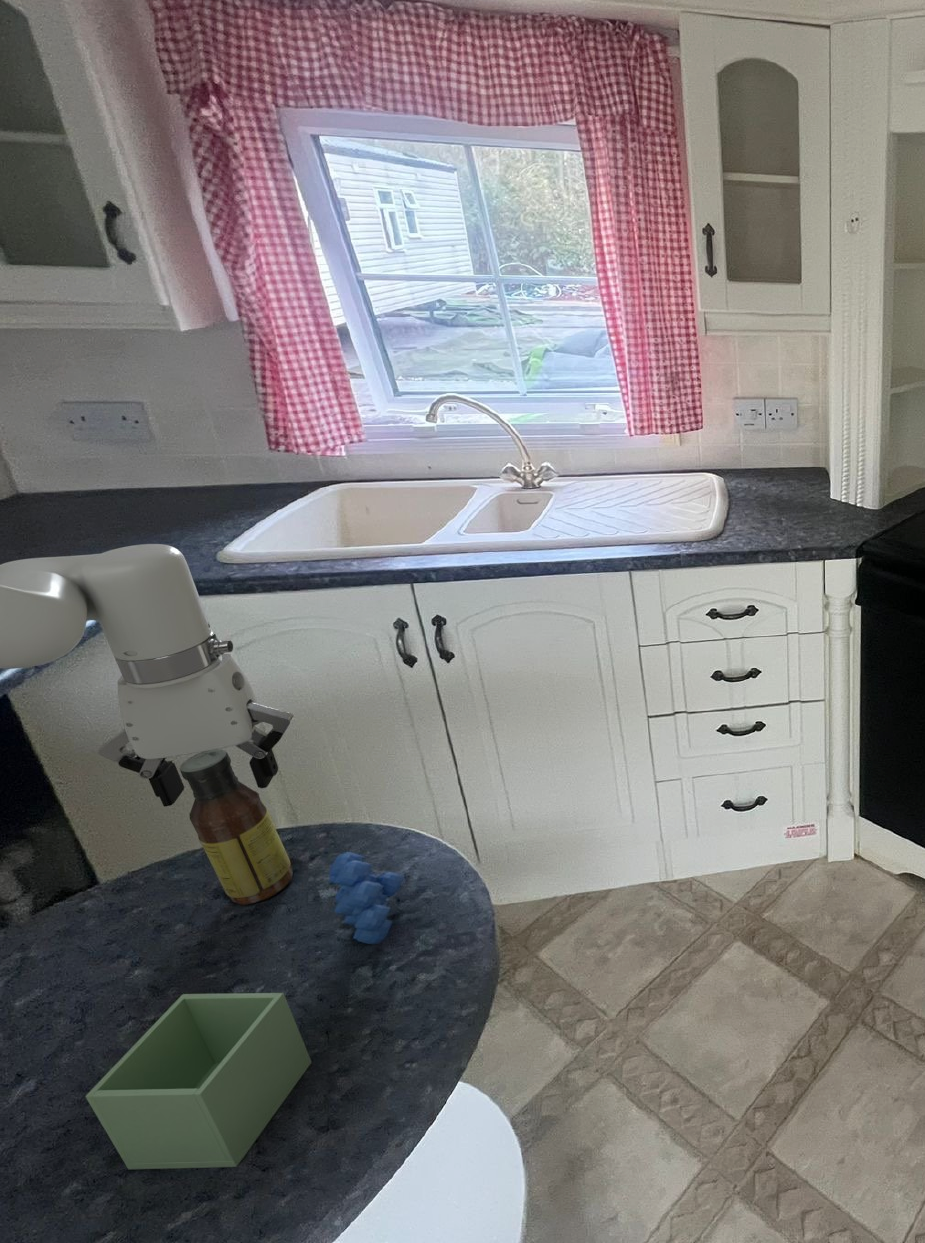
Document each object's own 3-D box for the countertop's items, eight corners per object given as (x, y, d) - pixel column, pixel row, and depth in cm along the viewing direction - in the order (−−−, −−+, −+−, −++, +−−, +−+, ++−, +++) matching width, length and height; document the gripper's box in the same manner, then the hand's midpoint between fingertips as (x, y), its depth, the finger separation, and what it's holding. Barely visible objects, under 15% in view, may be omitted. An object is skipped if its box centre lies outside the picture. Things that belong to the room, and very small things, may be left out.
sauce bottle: (291, 860, 96) (244, 732, 89) (298, 889, 92) (249, 757, 85) (223, 887, 92) (168, 756, 85) (227, 919, 88) (169, 783, 81)
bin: (127, 1169, 65) (84, 1096, 61) (216, 1063, 73) (182, 993, 69) (236, 1167, 65) (200, 1094, 62) (312, 1062, 74) (283, 992, 70)
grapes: (434, 941, 86) (411, 861, 82) (364, 981, 82) (336, 899, 77) (397, 888, 93) (374, 812, 89) (331, 922, 88) (303, 843, 84)
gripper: (283, 629, 87) (324, 753, 93) (81, 654, 80) (139, 786, 86) (259, 661, 80) (304, 792, 87) (37, 691, 74) (103, 830, 80)
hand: (221, 788), depth 87 cm, fingers open, 7 cm apart
